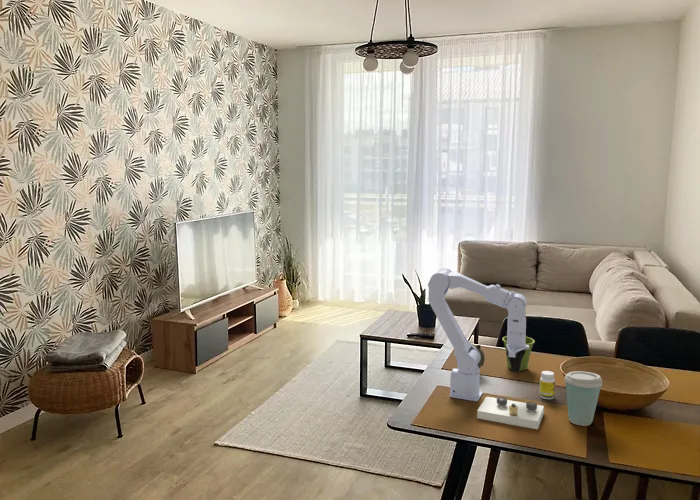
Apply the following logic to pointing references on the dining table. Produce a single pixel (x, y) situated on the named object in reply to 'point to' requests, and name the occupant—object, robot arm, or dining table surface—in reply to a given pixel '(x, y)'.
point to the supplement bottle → (547, 385)
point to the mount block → (501, 414)
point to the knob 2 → (531, 406)
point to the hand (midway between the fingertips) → (515, 371)
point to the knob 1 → (501, 402)
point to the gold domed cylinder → (513, 410)
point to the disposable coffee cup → (582, 396)
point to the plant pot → (526, 356)
